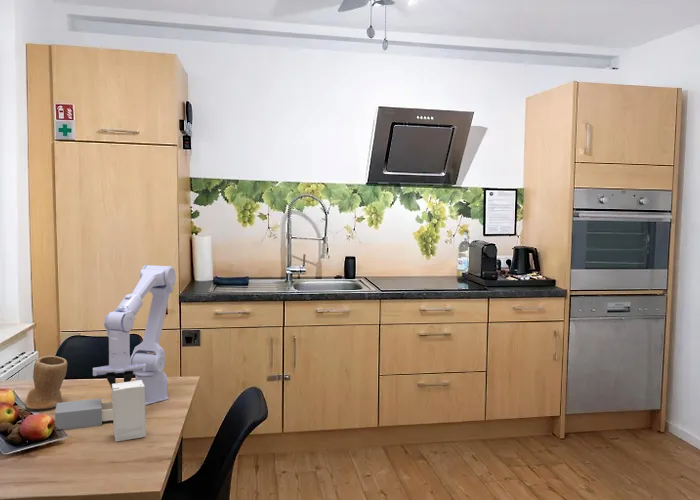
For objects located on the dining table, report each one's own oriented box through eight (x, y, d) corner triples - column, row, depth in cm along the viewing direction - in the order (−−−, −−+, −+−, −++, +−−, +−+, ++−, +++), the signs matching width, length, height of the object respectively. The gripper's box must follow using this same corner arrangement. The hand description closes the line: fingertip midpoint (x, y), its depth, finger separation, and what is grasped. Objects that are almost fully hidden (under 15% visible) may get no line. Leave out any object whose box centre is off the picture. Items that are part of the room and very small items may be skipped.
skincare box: (143, 430, 169) (143, 378, 167) (146, 438, 163) (146, 385, 162) (111, 434, 165) (111, 382, 164) (113, 442, 159) (113, 388, 158)
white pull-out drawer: (75, 427, 168) (75, 395, 168) (76, 416, 177) (76, 385, 176) (124, 421, 173) (124, 391, 173) (122, 410, 182) (122, 381, 181)
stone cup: (67, 409, 183) (66, 361, 182) (23, 414, 178) (21, 365, 177) (69, 394, 197) (68, 349, 196) (28, 397, 192) (27, 352, 191)
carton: (55, 430, 167) (55, 413, 166) (57, 419, 175) (56, 402, 174) (101, 425, 171) (101, 408, 171) (101, 414, 179) (101, 398, 179)
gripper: (92, 357, 169) (93, 403, 170) (146, 353, 175) (146, 398, 176) (92, 351, 176) (93, 396, 177) (144, 347, 181) (144, 390, 182)
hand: (119, 396), depth 177 cm, fingers closed on white pull-out drawer, 2 cm apart
